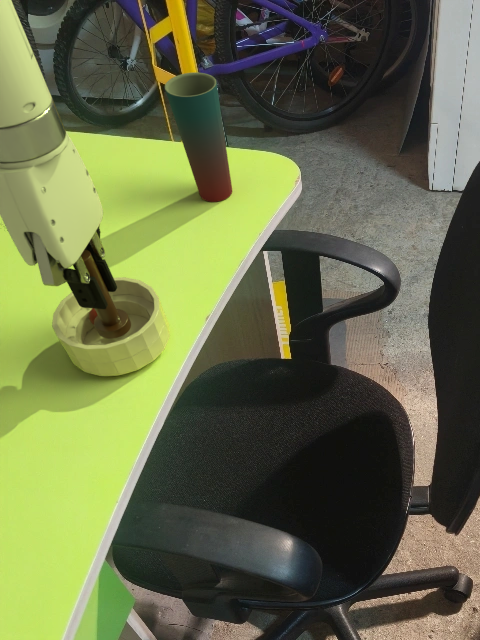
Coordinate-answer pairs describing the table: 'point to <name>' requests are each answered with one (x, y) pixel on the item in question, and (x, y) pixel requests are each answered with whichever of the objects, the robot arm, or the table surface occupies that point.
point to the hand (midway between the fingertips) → (98, 297)
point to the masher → (109, 319)
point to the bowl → (120, 352)
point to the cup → (201, 132)
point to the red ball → (92, 315)
